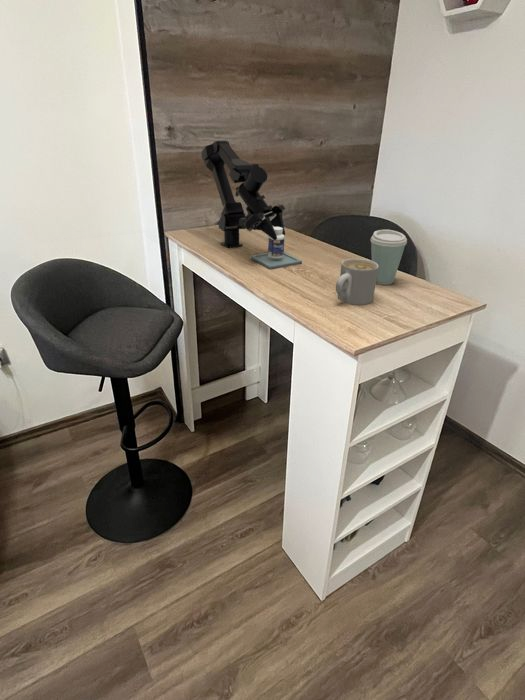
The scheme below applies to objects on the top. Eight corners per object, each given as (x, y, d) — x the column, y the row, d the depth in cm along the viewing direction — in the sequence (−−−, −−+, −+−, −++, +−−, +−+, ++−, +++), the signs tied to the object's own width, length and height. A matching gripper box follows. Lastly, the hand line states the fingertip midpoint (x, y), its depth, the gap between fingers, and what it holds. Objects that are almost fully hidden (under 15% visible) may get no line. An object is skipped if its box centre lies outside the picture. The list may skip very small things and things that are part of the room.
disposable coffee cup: (406, 285, 130) (416, 236, 123) (377, 289, 126) (386, 239, 119) (385, 274, 139) (393, 227, 131) (357, 277, 135) (364, 230, 127)
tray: (250, 258, 149) (250, 255, 149) (281, 253, 155) (281, 250, 155) (269, 269, 140) (269, 266, 139) (301, 263, 146) (302, 260, 145)
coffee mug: (357, 289, 127) (362, 256, 121) (380, 301, 119) (386, 267, 114) (320, 296, 121) (324, 263, 116) (342, 310, 113) (347, 274, 108)
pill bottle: (272, 259, 144) (273, 230, 139) (265, 255, 148) (266, 226, 143) (286, 257, 146) (287, 229, 141) (278, 253, 150) (279, 225, 145)
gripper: (252, 209, 154) (277, 244, 155) (223, 219, 140) (251, 257, 141) (272, 189, 147) (298, 226, 148) (243, 197, 133) (272, 238, 134)
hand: (280, 237), depth 143 cm, fingers closed on pill bottle, 5 cm apart
